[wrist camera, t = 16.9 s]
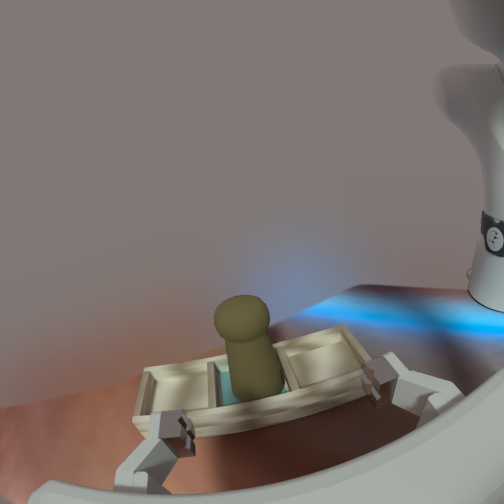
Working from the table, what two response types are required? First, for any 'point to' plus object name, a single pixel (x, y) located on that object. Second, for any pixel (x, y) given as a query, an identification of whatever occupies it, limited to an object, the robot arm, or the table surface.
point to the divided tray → (263, 410)
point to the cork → (249, 348)
